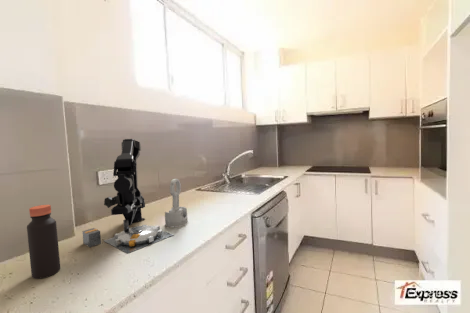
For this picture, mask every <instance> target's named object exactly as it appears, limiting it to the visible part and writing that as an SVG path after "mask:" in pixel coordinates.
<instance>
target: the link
mask: <svg viewBox="0 0 470 313" xmlns="http://www.w3.org/2000/svg"><path fill="white" fill-rule="evenodd" d="M82 239H83V240H82V241H83V245H85V246H86V247H88V248H92V247H95V246H98V245H101V244H102V236H101V230H99V229H97V228H95V227H93V228H88V229H85V230H82Z"/></svg>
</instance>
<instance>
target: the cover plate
mask: <svg viewBox="0 0 470 313" xmlns="http://www.w3.org/2000/svg"><path fill="white" fill-rule="evenodd" d="M173 236H174V234H172V233H169V232H167V231H163V230H162V236H158V237H157V238H155V239H154V241H152V242H146V243H142V244H137V245H135V246H129V245H123V244H120V245H116V244H115V237H111V238H108V239H104V240H103V242H104V243H106V244H108V245H109V246H110V245H111V246H112V247H114V248H116V249H118V250H119V251H122V252H124V253H126V254H130V253H133V252H135V251H138V250H140V249H143V248H145V247H146V248H147V246H151V245H153V244H155V243H157V242H160V241H163V240H165V239H168V238H171V237H173Z"/></svg>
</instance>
